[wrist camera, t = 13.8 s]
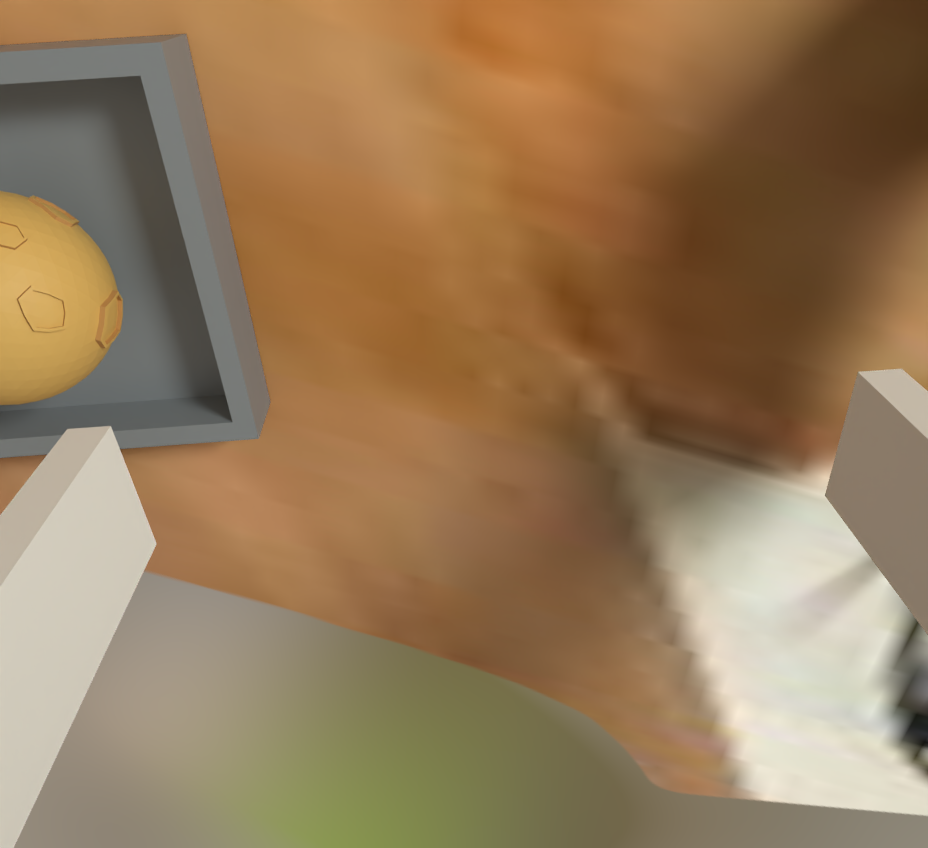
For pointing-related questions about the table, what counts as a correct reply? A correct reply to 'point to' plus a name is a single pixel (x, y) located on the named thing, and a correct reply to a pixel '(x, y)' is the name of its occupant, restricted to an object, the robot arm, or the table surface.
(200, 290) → the tray
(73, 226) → the stress ball
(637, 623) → the table surface
